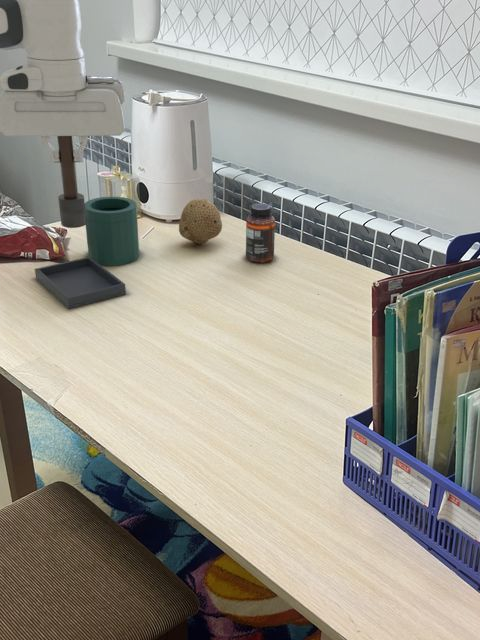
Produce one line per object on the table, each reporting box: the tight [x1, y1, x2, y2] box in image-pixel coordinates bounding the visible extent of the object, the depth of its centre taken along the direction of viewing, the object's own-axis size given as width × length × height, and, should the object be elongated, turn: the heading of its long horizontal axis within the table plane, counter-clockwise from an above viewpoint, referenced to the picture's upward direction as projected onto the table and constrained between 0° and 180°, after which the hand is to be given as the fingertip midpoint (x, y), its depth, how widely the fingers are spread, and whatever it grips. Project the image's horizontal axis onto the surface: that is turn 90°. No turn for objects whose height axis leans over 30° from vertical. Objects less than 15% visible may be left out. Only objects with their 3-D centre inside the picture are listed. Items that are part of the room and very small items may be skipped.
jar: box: [85, 196, 140, 267], centre depth 141 cm, size 10×10×11 cm
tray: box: [34, 256, 127, 310], centre depth 130 cm, size 15×11×2 cm
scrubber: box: [56, 136, 86, 229], centre depth 120 cm, size 4×4×16 cm
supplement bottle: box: [245, 202, 276, 264], centre depth 142 cm, size 6×6×11 cm
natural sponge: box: [178, 198, 223, 245], centre depth 148 cm, size 9×9×10 cm
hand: (67, 161), depth 118 cm, fingers closed on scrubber, 2 cm apart
